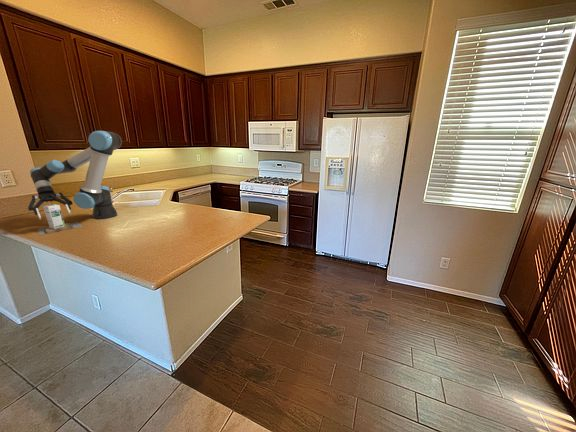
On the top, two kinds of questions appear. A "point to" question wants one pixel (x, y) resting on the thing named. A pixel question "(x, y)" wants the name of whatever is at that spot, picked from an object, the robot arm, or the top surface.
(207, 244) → the top surface
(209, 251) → the top surface
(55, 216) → the syrup box
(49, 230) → the stand
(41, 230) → the mat
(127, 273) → the top surface
